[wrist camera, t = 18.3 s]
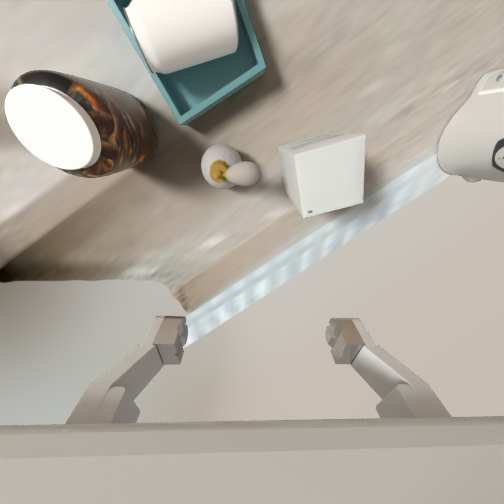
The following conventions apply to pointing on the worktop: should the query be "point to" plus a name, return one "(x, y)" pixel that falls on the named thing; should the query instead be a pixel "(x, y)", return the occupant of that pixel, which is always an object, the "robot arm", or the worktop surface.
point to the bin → (204, 70)
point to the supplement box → (324, 172)
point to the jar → (80, 123)
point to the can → (183, 31)
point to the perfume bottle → (227, 168)
